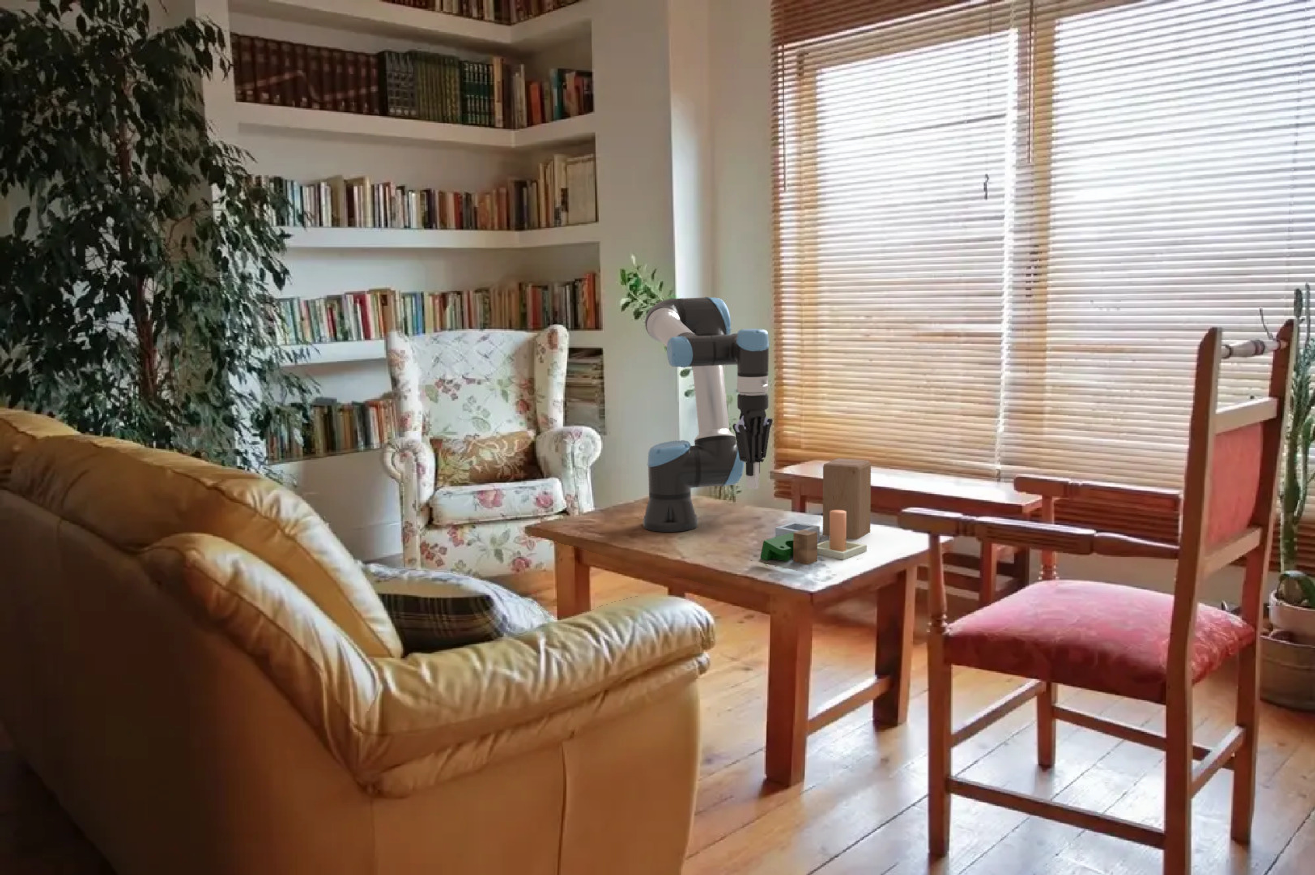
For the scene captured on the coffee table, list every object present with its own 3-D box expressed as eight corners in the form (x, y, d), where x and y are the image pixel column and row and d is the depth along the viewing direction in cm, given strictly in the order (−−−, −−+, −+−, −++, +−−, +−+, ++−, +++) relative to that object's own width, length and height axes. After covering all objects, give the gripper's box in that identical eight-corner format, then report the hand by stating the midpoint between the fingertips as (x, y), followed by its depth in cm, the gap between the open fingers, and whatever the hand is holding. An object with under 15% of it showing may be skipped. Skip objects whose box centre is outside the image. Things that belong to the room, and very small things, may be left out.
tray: (809, 556, 253) (809, 546, 252) (832, 548, 260) (832, 538, 260) (843, 563, 246) (843, 553, 246) (866, 554, 253) (866, 545, 253)
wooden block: (857, 543, 264) (858, 466, 261) (821, 538, 270) (821, 463, 266) (871, 534, 273) (872, 460, 270) (836, 530, 278) (836, 457, 275)
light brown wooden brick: (793, 565, 245) (793, 532, 244) (803, 562, 248) (803, 529, 247) (807, 568, 242) (807, 535, 241) (817, 565, 245) (817, 532, 244)
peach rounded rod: (826, 552, 253) (826, 512, 251) (835, 548, 256) (835, 509, 254) (840, 554, 250) (840, 514, 248) (849, 551, 253) (849, 511, 251)
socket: (775, 546, 263) (775, 527, 262) (794, 540, 268) (794, 521, 267) (800, 552, 257) (800, 532, 256) (819, 545, 263) (819, 526, 262)
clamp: (780, 583, 246) (777, 554, 241) (762, 572, 250) (758, 544, 245) (813, 556, 252) (811, 528, 247) (795, 546, 256) (792, 518, 251)
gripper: (747, 397, 243) (748, 494, 247) (781, 391, 252) (781, 485, 256) (723, 394, 248) (724, 490, 252) (757, 389, 257) (757, 481, 261)
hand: (752, 487), depth 254 cm, fingers closed
